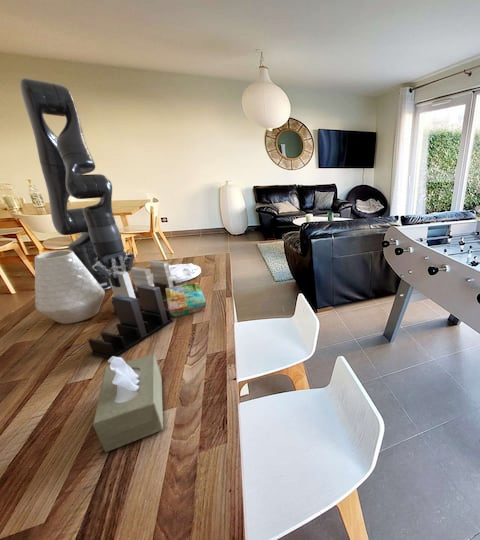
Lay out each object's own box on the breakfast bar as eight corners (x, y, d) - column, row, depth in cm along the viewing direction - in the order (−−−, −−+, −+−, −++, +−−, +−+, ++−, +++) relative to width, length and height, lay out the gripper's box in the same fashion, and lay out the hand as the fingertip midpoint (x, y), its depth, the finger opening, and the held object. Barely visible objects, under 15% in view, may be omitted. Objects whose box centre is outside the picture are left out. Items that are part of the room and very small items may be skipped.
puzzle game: (168, 308, 99) (164, 286, 114) (170, 319, 101) (167, 296, 116) (205, 299, 106) (197, 280, 121) (207, 310, 107) (199, 290, 122)
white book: (132, 307, 102) (122, 274, 97) (117, 304, 104) (106, 271, 99) (138, 305, 104) (128, 272, 99) (122, 302, 105) (112, 269, 100)
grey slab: (131, 316, 102) (119, 281, 96) (114, 313, 103) (102, 278, 98) (178, 291, 121) (171, 260, 115) (163, 288, 122) (156, 258, 117)
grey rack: (112, 359, 82) (96, 318, 76) (91, 355, 83) (75, 313, 78) (173, 321, 100) (164, 285, 95) (155, 317, 102) (145, 282, 97)
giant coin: (209, 274, 138) (208, 268, 137) (166, 289, 122) (165, 283, 121) (186, 265, 147) (185, 259, 146) (143, 277, 131) (141, 271, 130)
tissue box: (115, 391, 71) (94, 339, 65) (161, 376, 76) (147, 327, 70) (105, 454, 57) (78, 395, 51) (163, 431, 62) (145, 374, 56)
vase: (33, 320, 98) (3, 257, 89) (94, 299, 112) (74, 243, 103) (58, 335, 91) (28, 268, 82) (120, 310, 105) (101, 251, 96)
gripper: (118, 231, 101) (131, 276, 108) (73, 242, 89) (91, 292, 95) (135, 233, 100) (147, 279, 106) (92, 245, 87) (109, 295, 94)
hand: (121, 285), depth 101 cm, fingers closed on white book, 2 cm apart
